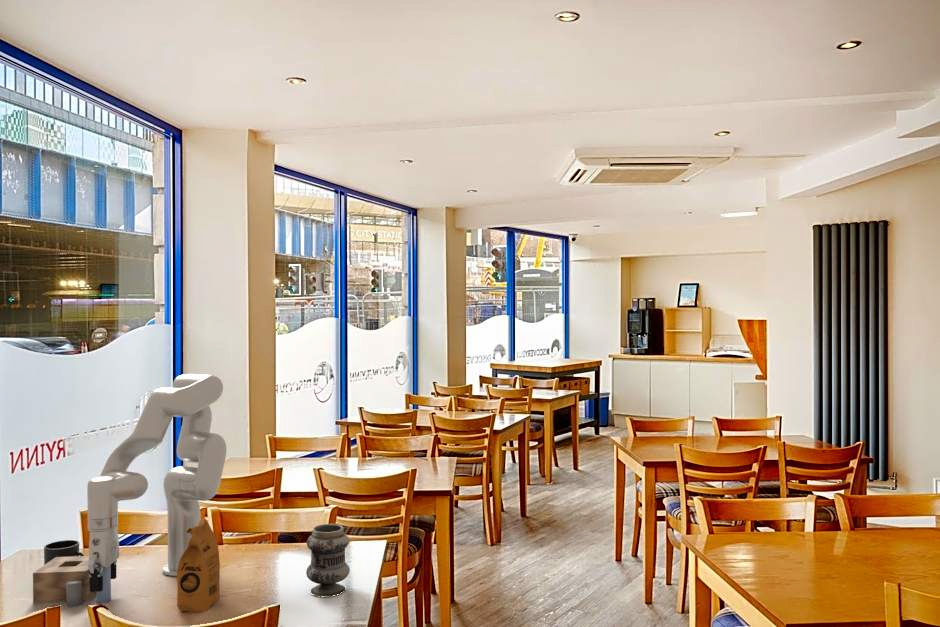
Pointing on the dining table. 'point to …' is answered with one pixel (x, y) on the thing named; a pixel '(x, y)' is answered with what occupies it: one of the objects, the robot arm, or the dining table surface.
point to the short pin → (73, 593)
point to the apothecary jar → (327, 559)
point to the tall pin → (105, 586)
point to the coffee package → (199, 571)
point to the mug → (61, 550)
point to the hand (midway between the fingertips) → (103, 584)
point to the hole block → (61, 578)
